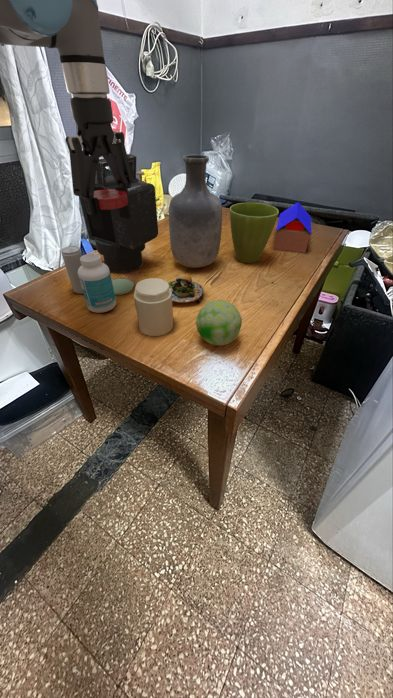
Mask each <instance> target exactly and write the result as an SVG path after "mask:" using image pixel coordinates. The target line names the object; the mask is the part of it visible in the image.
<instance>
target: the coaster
mask: <svg viewBox="0 0 393 698" xmlns="http://www.w3.org/2000/svg"><path fill="white" fill-rule="evenodd" d="M111 280H112V284H113V289H114V294H115V296H120V295H125V294H128V293H130V292H132V291H133V290H134V289H135V288H134V287H135V284H134V283H135V282H133V281H132V280H130V279H127V278H116V279H115V278H114V279H111Z"/></svg>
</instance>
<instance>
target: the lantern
mask: <svg viewBox="0 0 393 698" xmlns="http://www.w3.org/2000/svg"><path fill="white" fill-rule="evenodd" d="M127 156H128V161H129V165H130V169H131V173H132V177H133V183H130V184H131V188H128V195H129V202H128V204H129V212H130V218H129V219H127V218H122V217H120V213H119V208H118V209H110V210H101V209H100V214H101V219H102V224H103V230H99V229H95V228H92V223H91V219H90V214H88V213H87V211H86V207H85V202H84V199H83V197H80V196H78V197H79V201H80V206H81V210H82V214H83V219H84V223H85V227H86V232H87V236H88V239H89V240H91V241H94V242H95V246H96V252H97V254H99V255H100V256H103V261H104V262H103V263H104V264H106V265H107V266H108V267H109V270H110V272H113V273H129V272H133V271H136V270H139V269H140V268H141V267H142V266H143V262H144V261H143V254H142V252H143V251H144V250H145V249H146V244H147V243H149V242H151V241H153V240H154V239H156V238H157V237H158V235H159V222H158V210H157V209H158V208H157V197H156V196H157V195H156V186H155V185H154V184H153V183H149V182H145V181H144V180H143V176H145V172H144V171H137V156H136V155H134V154H132V153H127ZM106 168H109V166H108V164H107V162H106V160H105V159H104V158H99V162H98V163H97V168H96V178H95V188H94V191H97V190H105V189H116V188H117V187H119V186H118V185H117V183H116V181H115V178H114V176H113V174H112V175H108V176H107V174H106V173H107V171H106ZM137 176H139V178H137ZM126 177H127V175H126ZM87 192H88V190H87Z"/></svg>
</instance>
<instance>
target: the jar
mask: <svg viewBox="0 0 393 698" xmlns="http://www.w3.org/2000/svg"><path fill="white" fill-rule="evenodd" d="M134 287H135V288H134V293H133V301H134V305H135V312H136V319H137V325H138V330H139V331H140V333H142V334H143V335H146V336H149V337H161V336H164V335H166V334H169V332H171V331H172V330H173V328H174V311H173V310H174V309H173V308H174V307H173V301H172V292H171V290H170V288H169V284H168V281H166V280H164V279H162V278H159V277H157V278H156V277H149V278H144V279H142V280H140V281H138V282H137V283H136V284H135V286H134Z"/></svg>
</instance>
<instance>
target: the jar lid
mask: <svg viewBox="0 0 393 698" xmlns="http://www.w3.org/2000/svg"><path fill="white" fill-rule="evenodd" d="M94 197H95V198H97V199H98V204H99V209H101V210H110V209H118V208H122V207H124V206H126V205H127V204H128V198H127V193H126V192H125V191H122V190H116V189H105V190H97V191H94Z"/></svg>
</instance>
